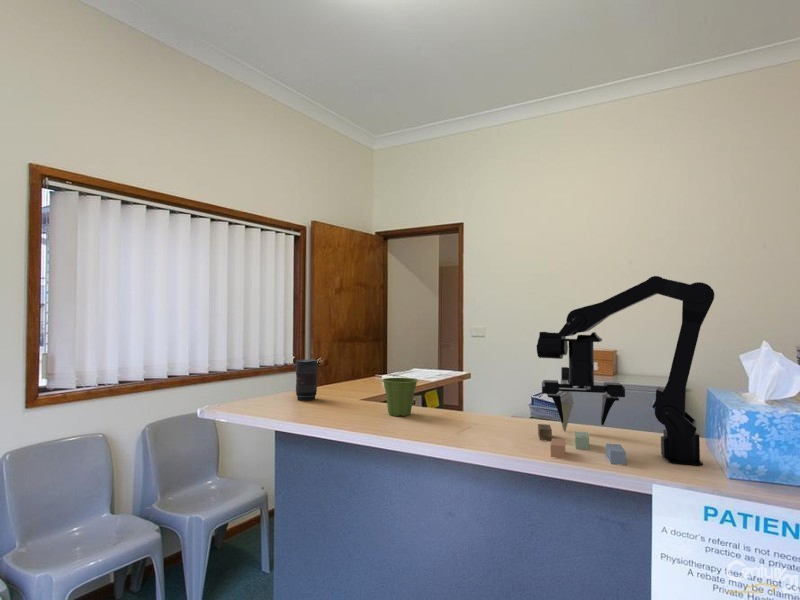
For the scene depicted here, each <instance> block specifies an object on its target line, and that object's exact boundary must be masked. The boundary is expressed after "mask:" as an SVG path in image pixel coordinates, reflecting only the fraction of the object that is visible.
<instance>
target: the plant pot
mask: <svg viewBox="0 0 800 600" xmlns="http://www.w3.org/2000/svg"><path fill="white" fill-rule="evenodd" d="M381 381H382V382H383V387H384V389H385V390H384V391H385V398H386V405H387V413H388V415H389V416H394V417H399V416H403V417H407V416H410V415H411V413H412V408H413V401H414V397H415V396H414V395H415V390H416V388H417V387H416V386H417V383H418V382H419V379H416V378H411V377H386V378H382V379H381Z"/></svg>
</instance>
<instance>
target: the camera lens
mask: <svg viewBox="0 0 800 600" xmlns="http://www.w3.org/2000/svg"><path fill="white" fill-rule="evenodd" d="M295 375H296V376H295V377H296V381H295V383H296V384H295V394H296V396H297V397H296V399H297V401H302V400H309V401H314V400H316V395H317V390H318V388H317V387H318V383H317V382H318V361H317V359H307V358H306V359H297V360H296V362H295Z"/></svg>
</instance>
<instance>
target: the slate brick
mask: <svg viewBox="0 0 800 600" xmlns="http://www.w3.org/2000/svg"><path fill="white" fill-rule="evenodd" d="M605 449H606V450H605V452H606V453H605V454H606V455H605V456H606V458H607V459H609V460H608V462H609V461H610V462H609V464H610V463H611V464H610V465H617V464H626V465H627V452H626V450H625V449H624V448H623V446H622V445H621V444H619V443H618V444H616V443H606V444H605Z"/></svg>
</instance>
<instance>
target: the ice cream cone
mask: <svg viewBox="0 0 800 600" xmlns="http://www.w3.org/2000/svg"><path fill="white" fill-rule="evenodd" d="M566 381H567V380H562V379H561V382H560V384H567V382H566ZM559 394H560V397H561V404H562V411H563V423H562V422H561V419H560V416H559V420H560V423H561V427H562V429H563V432H566V430H567V427H568V423H569V420H570V417H571V413H572V409H573V405H574V404H575V403H574V397H573V393H572V392H571V391H559Z"/></svg>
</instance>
